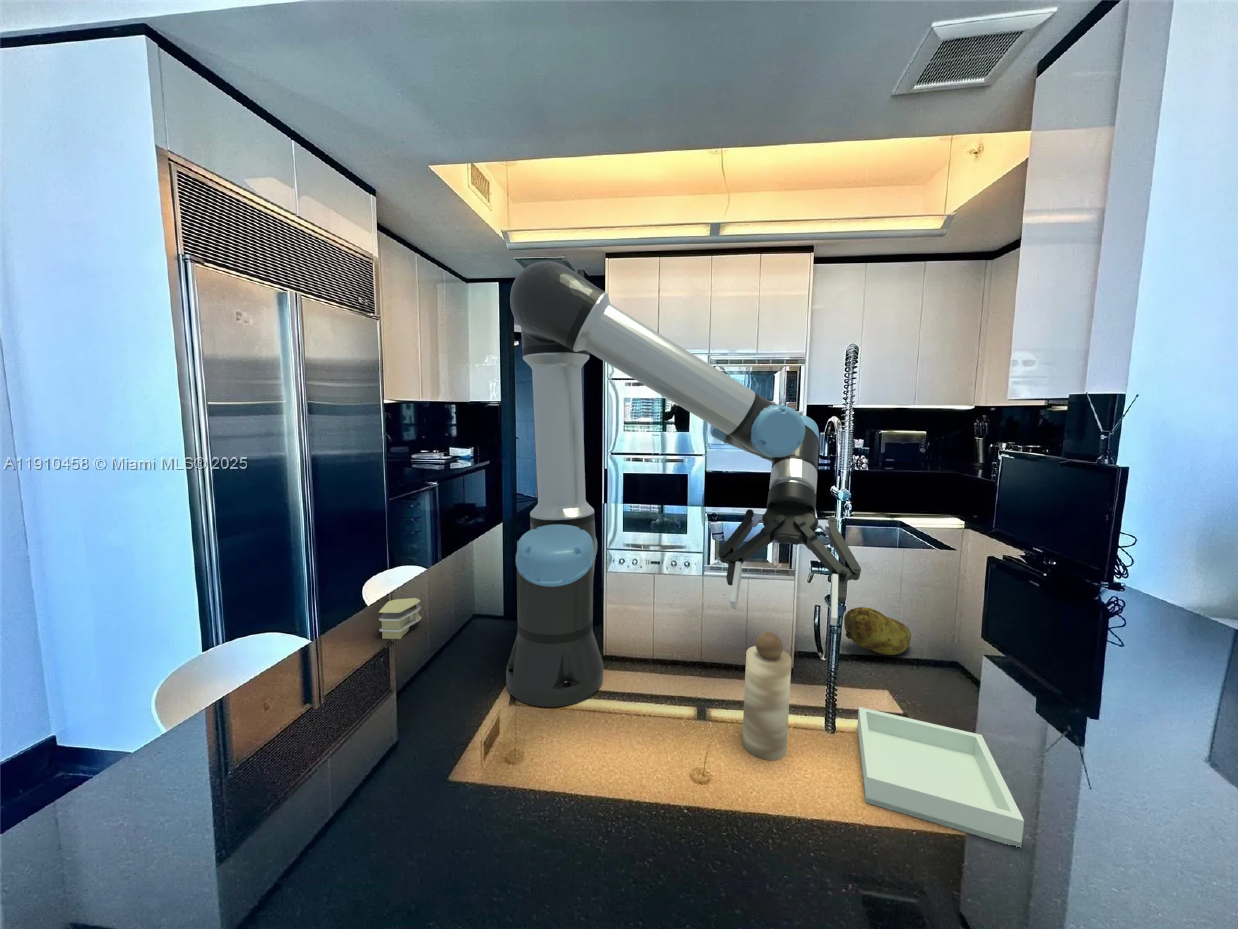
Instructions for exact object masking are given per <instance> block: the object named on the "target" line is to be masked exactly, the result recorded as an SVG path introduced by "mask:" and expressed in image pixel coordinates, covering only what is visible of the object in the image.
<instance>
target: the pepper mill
mask: <svg viewBox="0 0 1238 929" xmlns="http://www.w3.org/2000/svg"><path fill="white" fill-rule="evenodd" d="M783 647H784V646H783V643H782V639H780V637H779V636H778V635H777V634H775V633H773V632H769V631H768V632H763V633H761V634H759V636H758V637H757V639H756V642H755V645H753V646H750V647H748V649H746V652H745V655H746V656H745V672H744V673H745V674H744V691H743V692H744V695H743V697H744V698H743V717H742V718H743V720H742V741H741V744H742V745H743V748H744V749H745V750H746V752H748V753H749V754H750V755H752V756H754V757H755V758H757V759H760V760H763V761H777V760H780V759H783V758H784V757H785V755H786V754H787V745H788V730H789V729H788V727H789V711H790V709H789V708H790V694H791V692H790V690H791V678H792V676H791V675H792V674H791V673H792V657H791V655H790V654H789V653H788V652H786V651H785V650H784V648H783Z"/></svg>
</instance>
